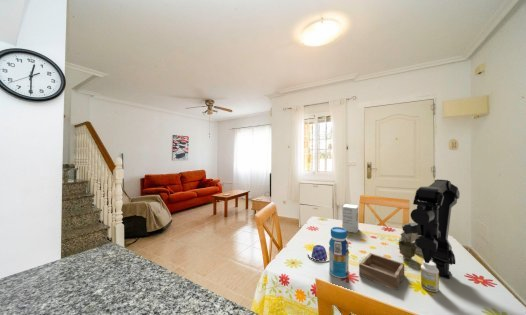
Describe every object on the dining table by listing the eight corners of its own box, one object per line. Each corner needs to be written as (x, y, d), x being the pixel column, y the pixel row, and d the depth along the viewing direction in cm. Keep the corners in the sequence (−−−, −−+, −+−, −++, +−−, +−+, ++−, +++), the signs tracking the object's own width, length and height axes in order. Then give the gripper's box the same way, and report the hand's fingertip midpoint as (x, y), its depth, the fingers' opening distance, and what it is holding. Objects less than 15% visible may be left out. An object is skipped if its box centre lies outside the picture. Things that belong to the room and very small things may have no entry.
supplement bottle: (429, 282, 83) (429, 258, 83) (442, 292, 78) (442, 266, 77) (417, 283, 83) (417, 259, 82) (429, 293, 77) (429, 267, 77)
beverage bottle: (325, 270, 93) (324, 227, 92) (339, 266, 96) (338, 224, 96) (338, 281, 85) (338, 234, 85) (353, 276, 88) (353, 231, 88)
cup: (400, 253, 107) (400, 238, 107) (417, 258, 102) (417, 243, 102) (396, 259, 102) (396, 243, 102) (414, 264, 97) (415, 248, 96)
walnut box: (370, 262, 99) (370, 252, 99) (404, 275, 89) (404, 263, 88) (359, 275, 89) (359, 263, 89) (396, 290, 79) (396, 277, 79)
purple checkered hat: (312, 249, 114) (312, 240, 114) (334, 255, 107) (334, 245, 107) (303, 258, 104) (303, 248, 104) (327, 265, 97) (326, 255, 97)
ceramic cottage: (403, 238, 126) (403, 215, 124) (436, 249, 112) (437, 223, 111) (391, 246, 117) (391, 221, 116) (425, 260, 103) (426, 232, 102)
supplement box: (356, 233, 135) (356, 208, 134) (342, 230, 140) (342, 206, 139) (358, 228, 143) (358, 205, 142) (344, 226, 148) (344, 203, 147)
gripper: (408, 210, 92) (407, 244, 92) (399, 220, 79) (399, 259, 79) (440, 216, 84) (440, 253, 84) (436, 227, 71) (436, 271, 71)
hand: (428, 258), depth 80 cm, fingers open, 9 cm apart
